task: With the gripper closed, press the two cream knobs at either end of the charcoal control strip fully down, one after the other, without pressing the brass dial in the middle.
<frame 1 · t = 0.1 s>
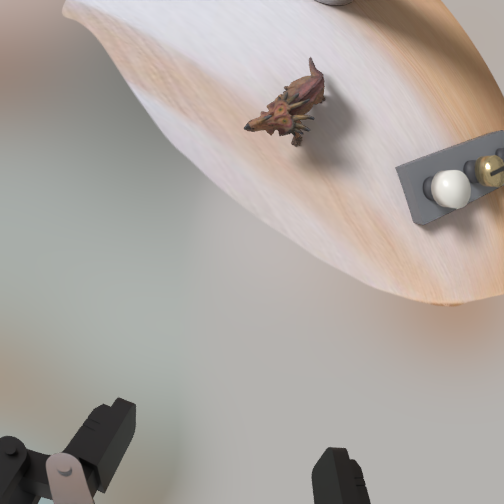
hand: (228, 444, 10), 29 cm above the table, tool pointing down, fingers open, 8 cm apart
brass dial: (491, 171, 26), point 8 cm above the table, slide at 0.0 cm
cream knob 1: (451, 189, 27), point 8 cm above the table, slide at 0.0 cm
dinosaur figurine: (295, 110, 34), on the table
control strip: (459, 172, 34), on the table
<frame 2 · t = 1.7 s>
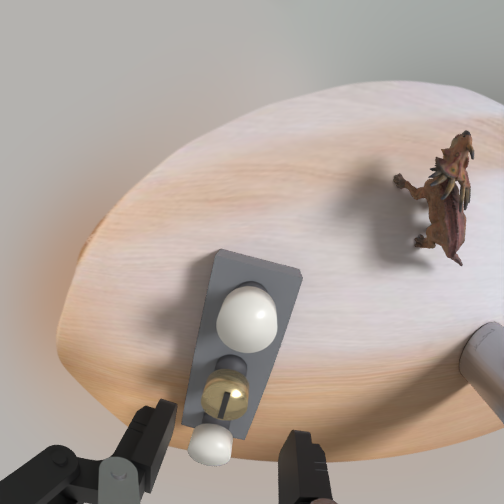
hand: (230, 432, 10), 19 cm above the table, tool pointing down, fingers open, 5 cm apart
brass dial: (225, 395, 24), point 8 cm above the table, slide at 0.0 cm
cream knob 1: (247, 319, 22), point 8 cm above the table, slide at 0.0 cm
cream knob 2: (210, 445, 25), point 8 cm above the table, slide at 0.0 cm
dinosaur figurine: (424, 207, 27), on the table
control strip: (234, 352, 31), on the table
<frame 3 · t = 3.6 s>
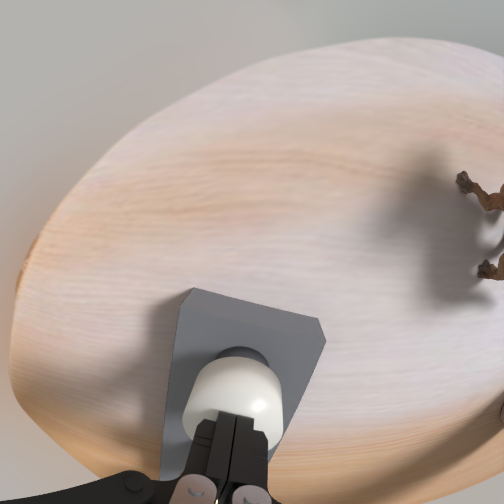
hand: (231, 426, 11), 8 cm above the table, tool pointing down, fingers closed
brass dial: (205, 500, 13), point 8 cm above the table, slide at 0.0 cm
cream knob 1: (235, 409, 12), point 6 cm above the table, slide at 1.2 cm, touching gripper
dinosaur figurine: (490, 221, 16), on the table
control strip: (221, 423, 20), on the table
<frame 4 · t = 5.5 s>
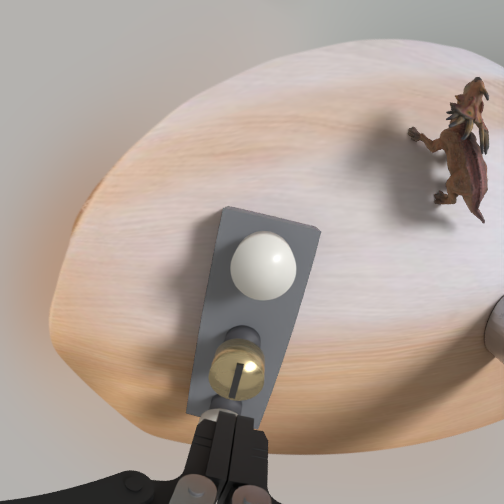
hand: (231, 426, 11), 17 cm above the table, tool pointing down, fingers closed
brass dial: (237, 370, 21), point 8 cm above the table, slide at 0.0 cm
cream knob 1: (263, 264, 21), point 6 cm above the table, slide at 1.8 cm
cream knob 2: (220, 434, 23), point 8 cm above the table, slide at 0.0 cm
dinosaur figurine: (440, 163, 24), on the table
control strip: (245, 326, 28), on the table
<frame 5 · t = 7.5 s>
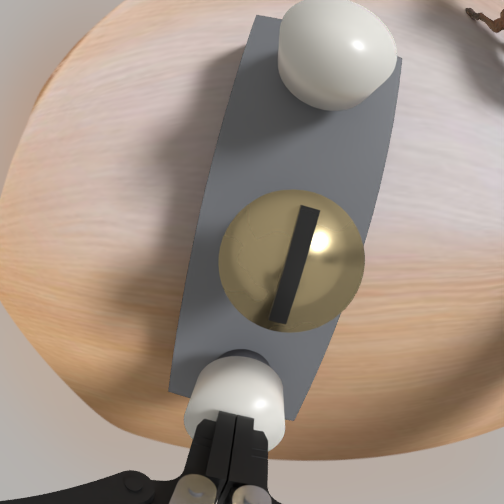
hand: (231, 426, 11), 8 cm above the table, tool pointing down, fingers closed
brass dial: (289, 255, 9), point 8 cm above the table, slide at 0.0 cm
cream knob 1: (333, 53, 9), point 6 cm above the table, slide at 1.8 cm
cream knob 2: (236, 408, 12), point 6 cm above the table, slide at 1.5 cm, touching gripper
dinosaur figurine: (503, 51, 12), on the table
control strip: (280, 225, 17), on the table
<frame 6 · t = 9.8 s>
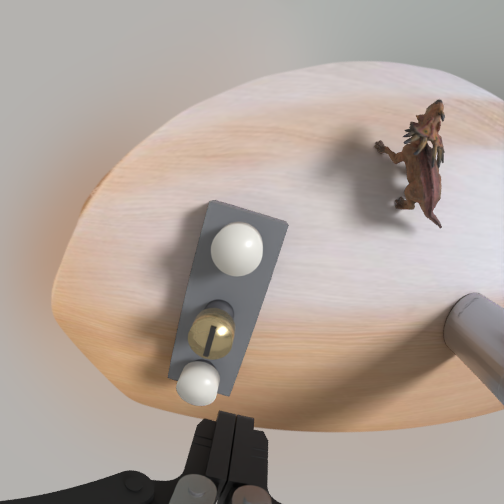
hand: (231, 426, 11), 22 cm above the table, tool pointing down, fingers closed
brass dial: (212, 334, 26), point 8 cm above the table, slide at 0.0 cm
cream knob 1: (237, 248, 26), point 6 cm above the table, slide at 1.8 cm
cream knob 2: (198, 383, 30), point 6 cm above the table, slide at 1.8 cm
dinosaur figurine: (404, 173, 30), on the table
control strip: (222, 302, 34), on the table
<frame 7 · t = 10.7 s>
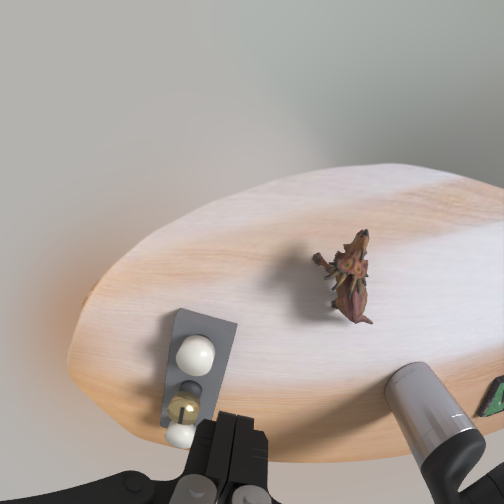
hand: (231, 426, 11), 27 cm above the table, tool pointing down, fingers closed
brass dial: (183, 409, 34), point 8 cm above the table, slide at 0.0 cm
cream knob 1: (196, 355, 34), point 6 cm above the table, slide at 1.8 cm
disk drive: (503, 389, 41), on the table
cream knob 2: (180, 433, 37), point 6 cm above the table, slide at 1.8 cm
dinosaur figurine: (341, 277, 37), on the table
control strip: (195, 377, 41), on the table
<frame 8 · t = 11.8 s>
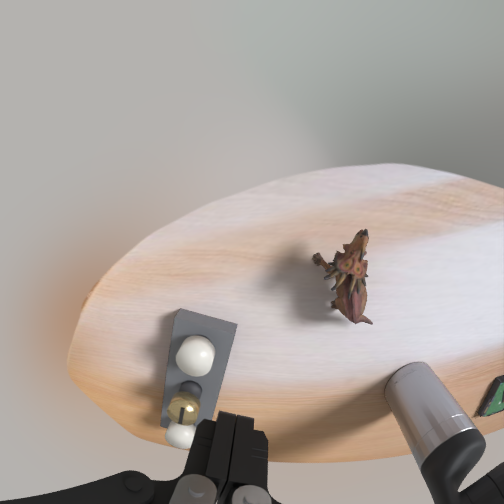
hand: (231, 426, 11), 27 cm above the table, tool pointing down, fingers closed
brass dial: (183, 409, 34), point 8 cm above the table, slide at 0.0 cm
cream knob 1: (195, 356, 34), point 6 cm above the table, slide at 1.8 cm
disk drive: (503, 388, 41), on the table
cream knob 2: (180, 434, 37), point 6 cm above the table, slide at 1.8 cm
dinosaur figurine: (341, 277, 37), on the table
control strip: (195, 377, 41), on the table
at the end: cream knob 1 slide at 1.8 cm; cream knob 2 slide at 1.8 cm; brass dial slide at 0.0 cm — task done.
